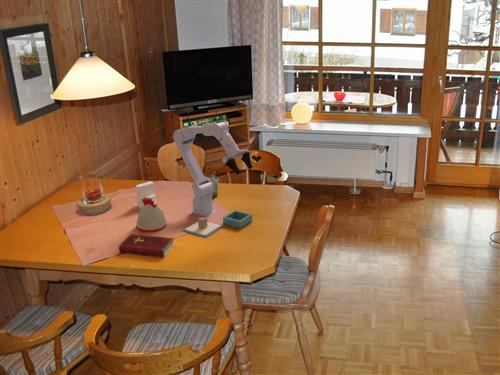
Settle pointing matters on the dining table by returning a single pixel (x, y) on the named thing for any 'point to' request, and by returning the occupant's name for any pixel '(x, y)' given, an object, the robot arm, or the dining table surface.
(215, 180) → the food container
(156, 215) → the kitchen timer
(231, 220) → the teal square tray
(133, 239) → the hardcover book
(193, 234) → the mat
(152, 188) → the base with upright slab
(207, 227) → the lid
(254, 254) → the dining table surface
